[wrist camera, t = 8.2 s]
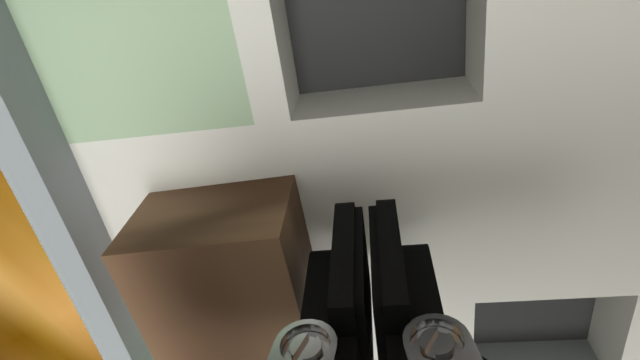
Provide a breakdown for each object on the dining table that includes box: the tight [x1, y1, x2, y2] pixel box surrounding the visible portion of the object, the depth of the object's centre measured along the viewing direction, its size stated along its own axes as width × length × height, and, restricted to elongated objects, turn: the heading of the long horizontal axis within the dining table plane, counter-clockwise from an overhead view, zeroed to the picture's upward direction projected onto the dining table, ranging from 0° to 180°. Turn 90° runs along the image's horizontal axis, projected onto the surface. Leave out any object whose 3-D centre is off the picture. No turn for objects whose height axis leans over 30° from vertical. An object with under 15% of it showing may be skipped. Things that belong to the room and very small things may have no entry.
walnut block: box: [101, 175, 312, 360], centre depth 13 cm, size 4×4×3 cm
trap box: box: [0, 0, 640, 360], centre depth 14 cm, size 27×18×4 cm, turn 98°
